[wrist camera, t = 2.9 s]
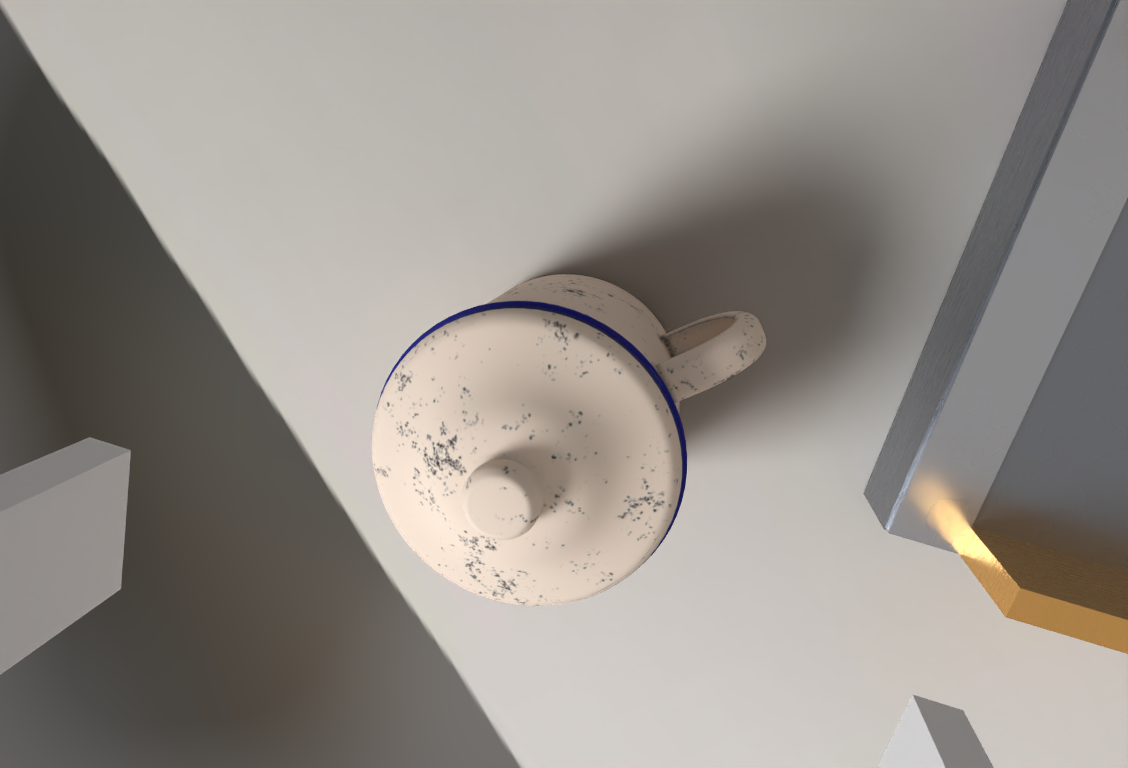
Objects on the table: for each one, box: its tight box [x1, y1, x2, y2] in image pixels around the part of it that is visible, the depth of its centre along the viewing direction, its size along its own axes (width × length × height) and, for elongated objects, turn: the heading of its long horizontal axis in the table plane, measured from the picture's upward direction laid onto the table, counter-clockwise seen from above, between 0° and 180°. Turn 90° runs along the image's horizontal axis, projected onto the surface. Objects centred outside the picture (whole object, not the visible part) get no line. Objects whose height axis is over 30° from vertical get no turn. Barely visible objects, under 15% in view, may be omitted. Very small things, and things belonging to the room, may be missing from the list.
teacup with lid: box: [372, 274, 766, 606], centre depth 23 cm, size 12×9×12 cm
